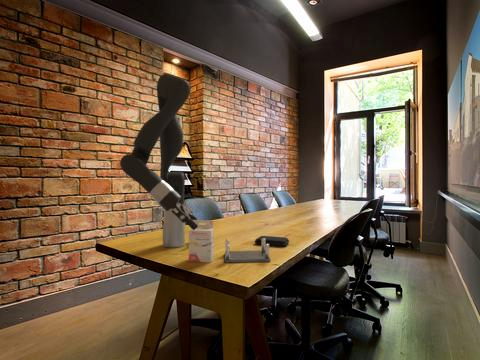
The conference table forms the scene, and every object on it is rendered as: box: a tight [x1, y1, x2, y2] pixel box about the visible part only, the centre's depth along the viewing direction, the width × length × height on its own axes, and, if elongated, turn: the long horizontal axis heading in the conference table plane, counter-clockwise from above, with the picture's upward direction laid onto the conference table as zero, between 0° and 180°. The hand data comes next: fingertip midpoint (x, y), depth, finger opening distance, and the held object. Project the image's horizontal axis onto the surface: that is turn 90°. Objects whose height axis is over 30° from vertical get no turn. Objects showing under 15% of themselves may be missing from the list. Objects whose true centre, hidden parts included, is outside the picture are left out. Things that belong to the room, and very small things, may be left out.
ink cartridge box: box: [188, 219, 215, 263], centre depth 104 cm, size 9×5×15 cm, turn 84°
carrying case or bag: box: [254, 235, 290, 248], centre depth 129 cm, size 11×3×15 cm
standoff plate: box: [224, 238, 271, 264], centre depth 107 cm, size 16×12×6 cm
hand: (197, 226), depth 104 cm, fingers open, 8 cm apart
